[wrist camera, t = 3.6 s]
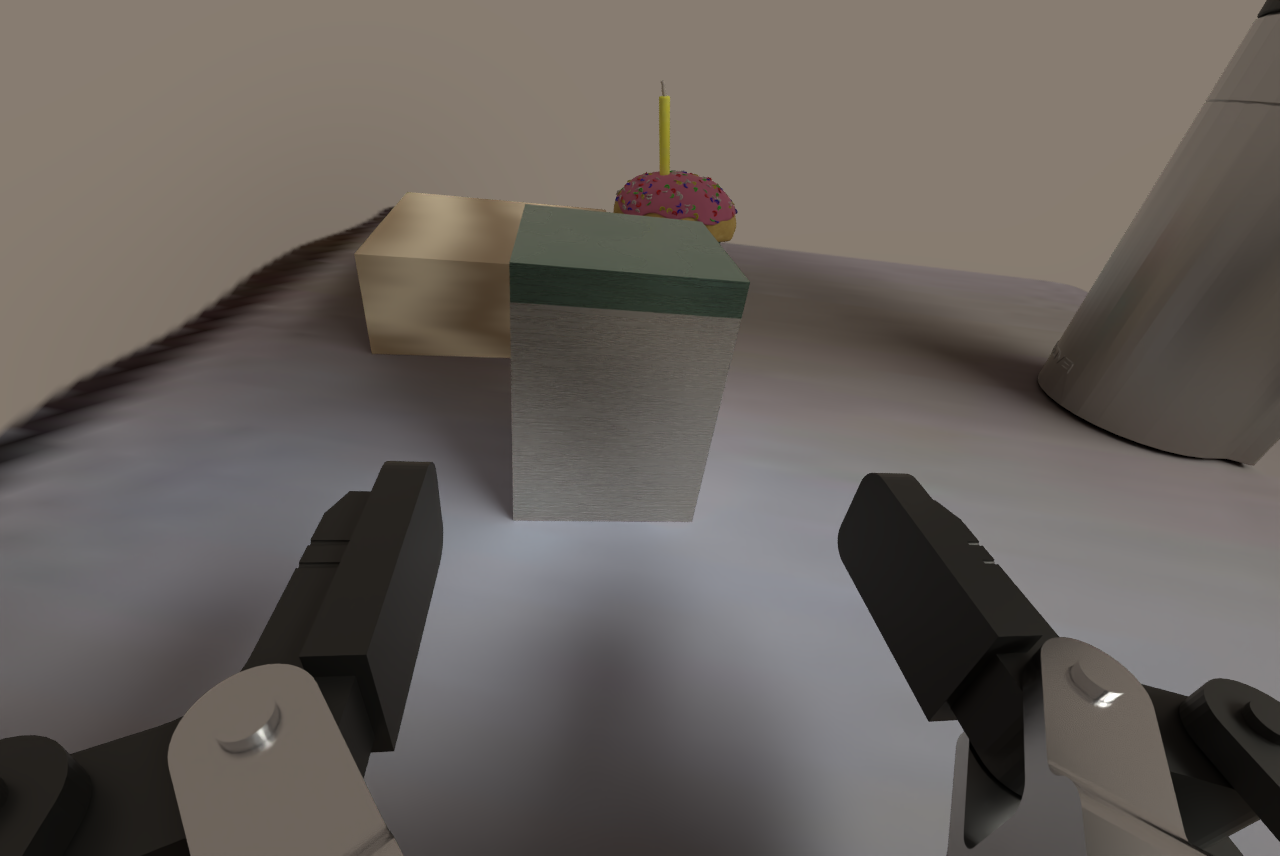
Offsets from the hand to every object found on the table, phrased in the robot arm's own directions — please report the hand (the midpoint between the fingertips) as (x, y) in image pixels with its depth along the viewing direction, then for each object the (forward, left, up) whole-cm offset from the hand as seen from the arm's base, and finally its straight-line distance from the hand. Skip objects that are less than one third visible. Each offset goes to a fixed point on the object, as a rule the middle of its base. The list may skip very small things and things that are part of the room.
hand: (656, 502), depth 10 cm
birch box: (+17, -16, -6) cm, 24 cm away
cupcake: (+13, -29, -6) cm, 32 cm away
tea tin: (+5, -7, -6) cm, 10 cm away
